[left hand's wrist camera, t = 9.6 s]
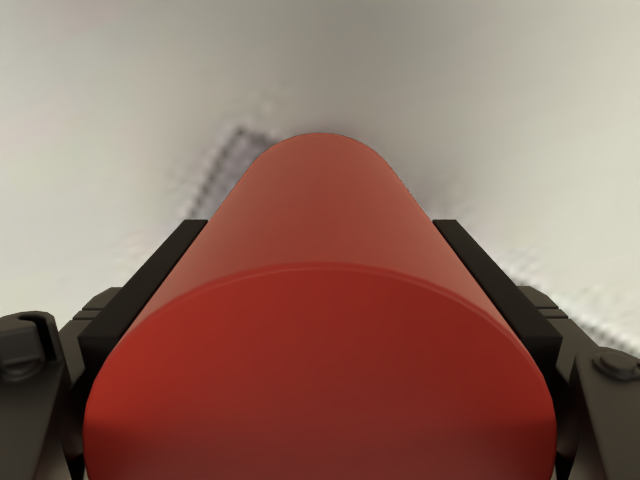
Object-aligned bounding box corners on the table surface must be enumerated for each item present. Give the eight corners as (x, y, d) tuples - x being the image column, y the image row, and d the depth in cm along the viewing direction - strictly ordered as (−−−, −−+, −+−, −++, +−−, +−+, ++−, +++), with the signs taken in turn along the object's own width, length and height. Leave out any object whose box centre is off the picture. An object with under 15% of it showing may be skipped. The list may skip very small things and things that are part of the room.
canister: (421, 274, 19) (573, 578, 7) (265, 313, 19) (191, 642, 8) (386, 109, 16) (538, 195, 5) (206, 161, 17) (-21, 340, 6)
